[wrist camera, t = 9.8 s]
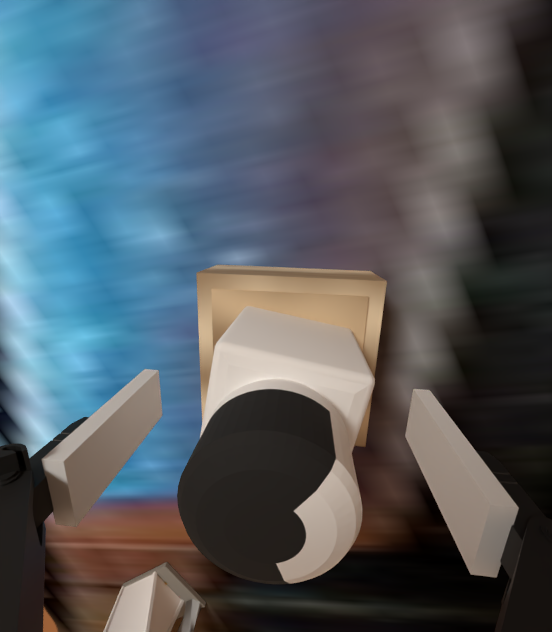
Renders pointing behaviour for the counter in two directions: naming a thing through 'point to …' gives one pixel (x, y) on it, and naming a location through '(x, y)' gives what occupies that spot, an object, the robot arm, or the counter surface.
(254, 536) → the medicine bottle
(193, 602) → the skyscraper
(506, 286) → the counter surface
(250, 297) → the base block
